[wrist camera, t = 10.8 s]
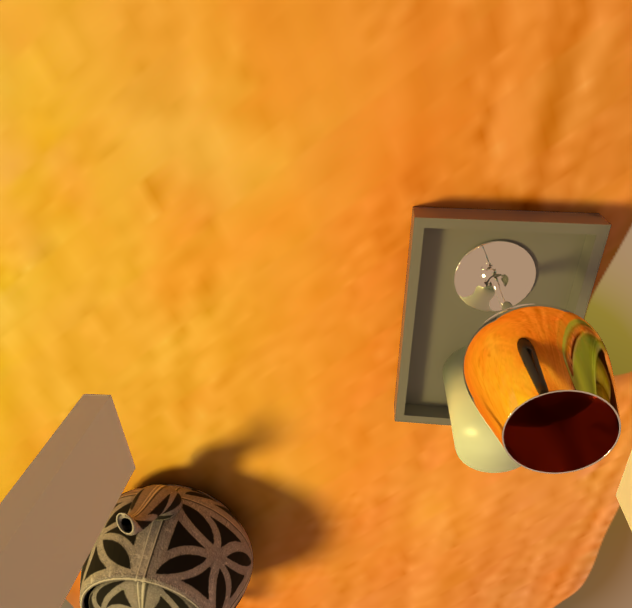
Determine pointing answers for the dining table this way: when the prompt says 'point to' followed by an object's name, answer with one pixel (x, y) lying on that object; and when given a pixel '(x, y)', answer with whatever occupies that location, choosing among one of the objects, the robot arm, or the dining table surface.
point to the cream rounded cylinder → (471, 424)
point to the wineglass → (535, 367)
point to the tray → (459, 318)
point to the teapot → (167, 553)
